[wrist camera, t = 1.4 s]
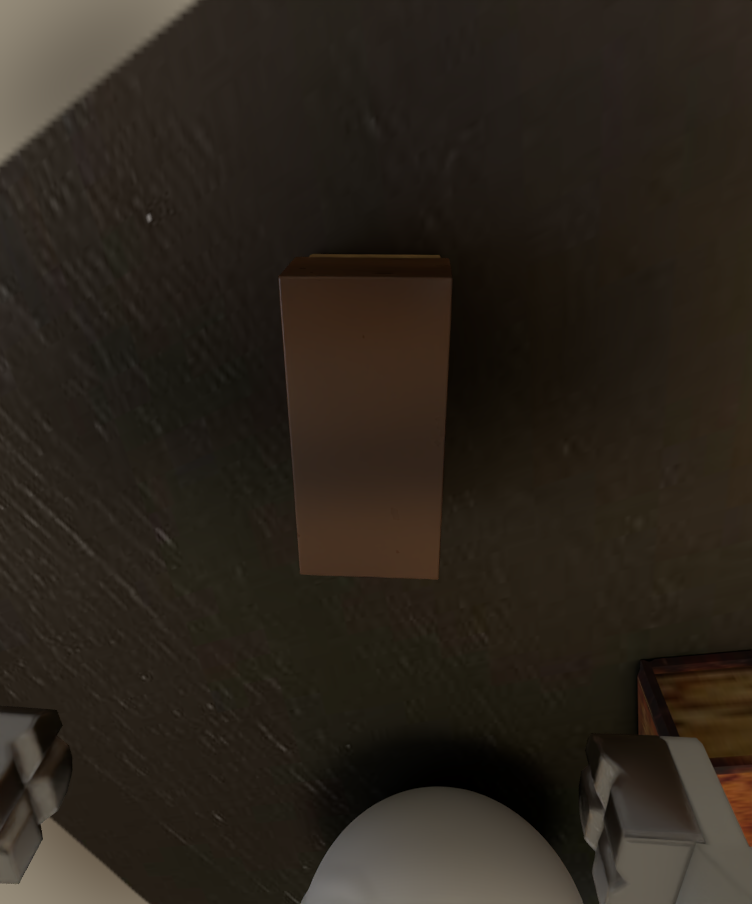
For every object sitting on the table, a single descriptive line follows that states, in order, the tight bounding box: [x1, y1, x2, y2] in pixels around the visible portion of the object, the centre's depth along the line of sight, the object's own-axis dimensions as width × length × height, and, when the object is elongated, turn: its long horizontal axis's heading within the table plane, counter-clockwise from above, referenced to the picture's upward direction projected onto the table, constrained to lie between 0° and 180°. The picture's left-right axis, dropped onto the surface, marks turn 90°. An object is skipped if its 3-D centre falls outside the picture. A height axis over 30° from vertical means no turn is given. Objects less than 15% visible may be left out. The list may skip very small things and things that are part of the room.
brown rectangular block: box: [278, 254, 453, 579], centre depth 20 cm, size 9×4×4 cm, turn 0°
